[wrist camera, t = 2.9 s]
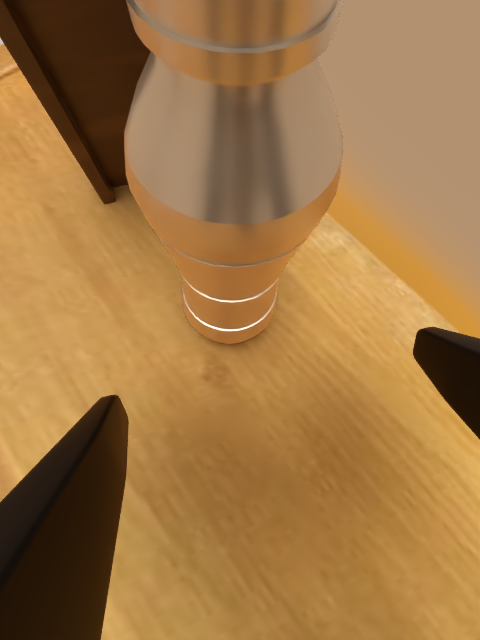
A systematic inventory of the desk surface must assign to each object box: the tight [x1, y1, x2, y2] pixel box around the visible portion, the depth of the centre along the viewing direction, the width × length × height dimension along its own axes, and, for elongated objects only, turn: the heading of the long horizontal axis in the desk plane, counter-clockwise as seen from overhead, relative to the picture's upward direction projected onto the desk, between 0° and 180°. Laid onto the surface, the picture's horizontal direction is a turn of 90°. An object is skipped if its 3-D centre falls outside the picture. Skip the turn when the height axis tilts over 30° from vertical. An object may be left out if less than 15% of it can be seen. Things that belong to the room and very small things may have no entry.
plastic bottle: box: [124, 0, 344, 344], centre depth 13 cm, size 6×7×20 cm
